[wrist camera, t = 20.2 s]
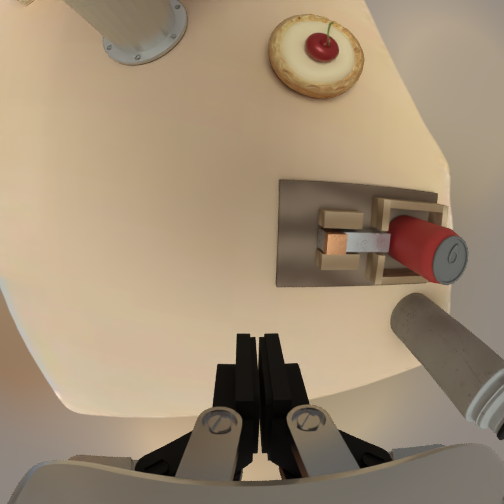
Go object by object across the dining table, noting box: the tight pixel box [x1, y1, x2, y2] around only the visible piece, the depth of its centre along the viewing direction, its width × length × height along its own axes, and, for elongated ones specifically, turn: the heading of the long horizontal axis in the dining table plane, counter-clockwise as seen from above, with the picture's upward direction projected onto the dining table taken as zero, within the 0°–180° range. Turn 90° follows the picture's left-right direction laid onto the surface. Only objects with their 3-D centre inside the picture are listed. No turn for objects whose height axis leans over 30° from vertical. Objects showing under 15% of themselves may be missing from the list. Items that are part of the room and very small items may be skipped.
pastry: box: [269, 14, 364, 98], centre depth 28 cm, size 12×12×9 cm
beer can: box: [386, 215, 468, 285], centre depth 31 cm, size 7×7×12 cm
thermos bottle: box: [391, 293, 504, 440], centre depth 28 cm, size 8×8×28 cm
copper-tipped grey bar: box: [317, 227, 391, 255], centre depth 35 cm, size 2×9×4 cm, turn 89°
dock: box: [276, 180, 448, 287], centre depth 36 cm, size 14×24×4 cm, turn 89°
